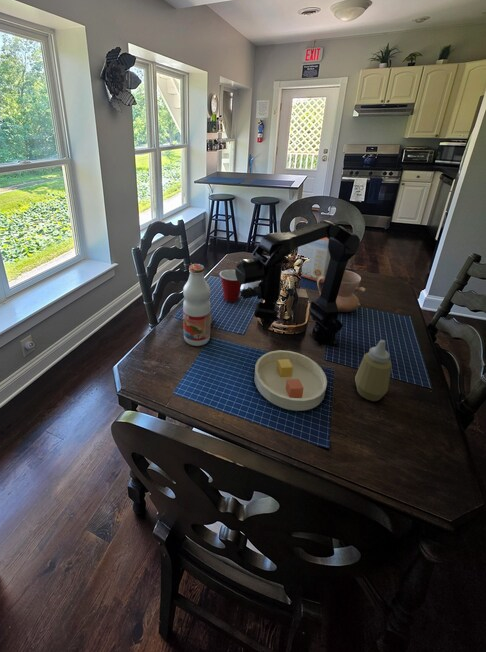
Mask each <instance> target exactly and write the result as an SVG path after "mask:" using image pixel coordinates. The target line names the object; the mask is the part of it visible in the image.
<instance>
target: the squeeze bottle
mask: <svg viewBox="0 0 486 652" xmlns="http://www.w3.org/2000/svg"><path fill="white" fill-rule="evenodd" d="M390 357H391V356H390V353H389V351H388V350H386V340H385V339H380V340H379V341H378V342H377V345H376V346H372V347H370V348H369V351H368V352H366V353H364V355H363V357H362V359H361V362H360V364H359V366H358V370H357V372H356V373H355V376H354V379H355V380H354V381H355V386H356V391H357V393H358V395H360V397H362V398H364V399H366V400H367V401H371V402H378V401H380V400H381V399H382V398H383V397H384V396H385V395H386V394H387V392H388V390H389V385H390V380H391V371H392V365H393V364H392V362H391V360H390Z"/></svg>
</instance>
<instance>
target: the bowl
mask: <svg viewBox="0 0 486 652" xmlns="http://www.w3.org/2000/svg"><path fill="white" fill-rule="evenodd" d="M281 359H289V360H290V362H291V364H292V366H293V372H292V376H288V377H280V375H279V372H278V370H277V363H278V360H281ZM253 379H254V380H253V381H254V384H255V387H256V389H257V390H258V392H259V393H260V394H261V396H262V397H263V398H264V399H265V400H267V401H268V402H270V403H271V404H273V405H275V406H277V407H279V408H282V409H284V410H288V411H296V412H297V411H298V412H299V411H301V412H302V411H309V410H312V409H314V408H316V407H317V406H319V405H320V404H321V403H322V402H323V400H324V399H325V396H326V390H327V387H328V386H327V385H328V379H327V375H326V373H325V372H324V370H323V368H322V367H321V366H320V365H319V364H318V363H317V362H316V361H315V360H313V359H311V358H310V357H308V356H307V355H304V354H301V353H299V352H295V351H291V350H280V349H279V350H272V351H269V352H267V353H264V354H262V355H261V356H260V357H259V358H258V359H257V360H256V363H255V366H254V378H253ZM287 379H299V380H300V382H301V384H302V386H303V388H304V389H303V395H302V398H290V397H289V396H288V393H287V391H286V381H287Z"/></svg>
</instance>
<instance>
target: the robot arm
mask: <svg viewBox="0 0 486 652" xmlns="http://www.w3.org/2000/svg"><path fill="white" fill-rule="evenodd" d="M323 238H328V239H329V242H328V249H329V253H330V261H329V265H328V268H327V272H326V276H325V280H324V282H323V283H322V286H321V288H322V291H321V295H320V294H319V297H318V298H316V299H315V300H311V302H310V307H309V309H308V311H309V315H310V317H311V319H312V320H313V321H314V322H315V323H314V326H313V327H312V332H311V333H310V334H311V337H312V339H313V340H314V341H315V343H316V344H317V345H319V346H326V345H327V346H329V345H330V346H337V345H338V343H337V341H336V335H337V334H338V332H339V331H341V330H342V328H343V327H344V324H343V323H342V322H341V321H340V320H339V319H338V316H339V312H338V308H337V304H336V299H337V296H338V292H339V289H340V285H341V282H342V278H343V275H344V272H345V270H346V268H347V264H348V262H349V261H350V260H351V259H352V258H353V257H354V256H356V254H357V252H358V248H359V247H360V244H361V238H360V237H359V235H358V234H355V233H353V232H350V231H347V230H345V229H344V228H342V226H341V227H340V226H339V224H337V223H336V222H333V221H331V220H329V219H321V220H320V221H319V222H316V223H313V224H311V225H307V226H304V227H301V228H298V229H294V230H292V231H288V232H272V233H266V234H264V235H263V236H262V238H261V240H260V242H259V243H258V244H257V246H256V247H255V249H254V250H253V252H252V253H251V255H250V256H251V257H252V258H247V259H240V260H239V263H238V264H237V265H236V266H235V269H234V270H235V273H236V278H237V280H238V282H239V283H240V284H242V285H241V288H240V297H242V299H243V300H247V299H252V298H255V297H256V299H257V300H263V301H264V302H262V301H259V302H257V303H256V304H255V308H254V314H253V315H254V317H255V318H259V319H260V323H261V327H262V331H263V332H268V330H269V329H270V328H271V326H272V325H273V323H274V322H275V321H277V320H278V313H279V307H278V305H276V304H277V302H279V299H280V296H281V292H282V282H281V281H282V271H283V265H284V264H289V263H290V260H289V259H288V258H287V256H290V255H291V254H292V253H293V251H294V250H295V249H298V247H300V246H303V245H306V244H308V243H311V242H314V241H317V240H320V239H323ZM263 253H264V254H266V255H267V256H265V255H264V254H263Z"/></svg>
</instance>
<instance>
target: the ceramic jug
mask: <svg viewBox="0 0 486 652" xmlns="http://www.w3.org/2000/svg"><path fill="white" fill-rule="evenodd" d="M321 280H325V276H321V277H319V278H318V281H316V284H317V289H318V292H319V296H320V295H321V291H322V283H321ZM361 281H362V277H361V275H359V274H358V273H356V272H354V271H351V270H347V269H345V272H344V275H343V278H342V282H341V285H340V289H339V292H338V296H337V299H336V304H337V308H338V313H350V312H353V311H355V310H357V309H358V308H360V307H361V302H360V299H359V298H358V296H357V295H355V293H354V292H357V291H359V292H360V291H361V292H362V293H364V292H365V291H366V288H365V287H363V286H359V285H360V284H361Z"/></svg>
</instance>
